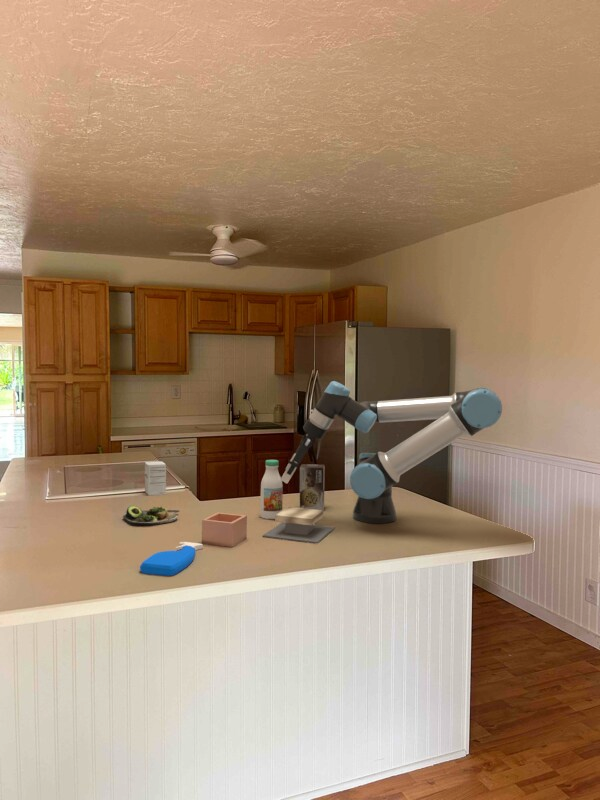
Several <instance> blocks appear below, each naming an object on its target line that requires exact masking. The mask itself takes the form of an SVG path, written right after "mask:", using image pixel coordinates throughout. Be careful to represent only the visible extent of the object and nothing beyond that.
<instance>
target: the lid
mask: <svg viewBox="0 0 600 800" xmlns="http://www.w3.org/2000/svg"><path fill="white" fill-rule="evenodd" d="M324 511H325V510H315V509H306V508H300V507H295V506H294V507H293V506H288V507H286V508H284V509H282V511H281V512H280V513H278V514H276V515H275V519H274V520H275V521H274V522H277V523H278V522H279V523H282V522H285V523H294V524H303V525H313V524H314V525H315V523H317V522H318V521H319V520H321V519H322V518H323V517H324Z"/></svg>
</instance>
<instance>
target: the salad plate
mask: <svg viewBox="0 0 600 800" xmlns="http://www.w3.org/2000/svg"><path fill="white" fill-rule="evenodd" d="M167 508H168V507H167V506H166V507H162V506H160V507H158V506H157V507H156V506H153V507H152V508H149V510H148V509H147V510H142V509H141V508H140V507H138V506H137V505H129V506H128V507H127V508H126V509H127V510H126V511H125V513H124V514H123V515H122V517H123V520H124V521H125V522H126V523H127V525H128V524H129V525H131V526H135V527H151V526H158V525H163V524H168V523H172V522H173V523H174V521H176V520H177V519H179V516H178V515H176V514H177V513H180V510H177V509H167Z"/></svg>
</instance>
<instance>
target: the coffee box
mask: <svg viewBox="0 0 600 800" xmlns="http://www.w3.org/2000/svg"><path fill="white" fill-rule="evenodd" d="M325 469H326V467H325V464H304V463H303V464H302V463H301V465H300V466H299V508H306V509H315V510H324V509H325ZM324 511H325V510H324Z"/></svg>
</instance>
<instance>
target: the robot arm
mask: <svg viewBox="0 0 600 800" xmlns="http://www.w3.org/2000/svg"><path fill="white" fill-rule="evenodd" d="M350 393H351V390H350V388H348V387H346V385H344V384H342V383H340V382H338V381H335V380H333V381H330V383H329V384H328V386H327V387H326V388H325V390H324V391H323V392H322V395H321V397H320V398H319V400H318V402H317V403H316V405H315V406H314V408H313V409H311V410H310V412H311V413H310V415H309V418H308V419H306V421H305V423H304V425H303V426H302V428H303V429H302V430H304V432H305V433H306V434H304V435H303V436H302V438H301V440H300V442H299V445H298V447H297V448H296V450H295V453H293V455H292V457H291V459H290V460H289V461H288V464H287V466H286V467H285V471H284V473H283V474H282V476H280V477H281V479H280V480H281V481H282V483H283V482H284V483H285V484H288V483H289V481H290V480H291V478H292V477H293V475H294V473H295V472H296V471H297V468H298V467H300V466H299V465H300V463H301V462H302V460H303V458H304V457H305V455H306V453H308V451H309V450H310V448H311V447H312V446H313V444H314V442H315V440H314V439H315V438H316V439H317V440H322V439H324V436H325V435H326V433H327V430H328V429H329V428H330V427H331V425H332V423H333V422H334V420H335V418H336V417H338V418H340V419H342V420H343V421H345V422H346V423H348V424H349V425H351V426H352V427H353V428H355V429H356V430H358V431H360V432H362V433H364V434H368V433H369V431H370V430H371V429H372V428H373V426H374V424H378V423H380V424H381V423H394V422H408V421H409V422H410V421H411V422H412V421H428V420H434V421H433V422H431V423H430V424H428V425H427V426H425V427H424V428H422V429H421V430H419V431H417V432H416V433H414V434H412V436H410V437H408V438H407V439H405V440H403V441H402V442H400V443H399V444H397V445H396V446H394V447H392V448H391V449H390V450H388V451H386V452H382V451H378V452H376V453H374V452H361V453H360V454H359V458H358V464H357V465H356V466H355V467H354V468H353V469H352V470H351V472H350V473H351V474H350V476H349V477H350V478H349V483H350V487H351V490H352V491H353V493H354V494H355V495H356V496H357V499H356V502H355V504H354V508H353V510H352V518H353V519H354V520H357V521H359V522H361V523H362V522H364V523H370V524H388V523H391V522H392V523H393V522H395V521H396V520H397V511H396V508H395V503H394V501H393V497H392V495H393V494H392V493H393V492H392V491H393V486H394V485H396V484H398V483H399V482H400V478H401V475H403V474H405V473H406V472H408V471H409V470H410V469H412V468H414V467H416V466H417V465H419V464H421V463H422V462H424V461H426V460H427V459H429V458H430V457H432V456H434V455H435V454H436V453H437V452H440V451H442V450H444V448H446V447H447V446H450V445H451V444H452V443H454V442H455V441H457V440H458V439H460V438H462V437H463V436H467V437H473V436H474V435H475V434H478V433H480V431H482V430H484V429H486V428H487V429H488V428H490V427H492V426H493V425H495V424H496V423H497V422H498V421H499V420H500V418H501V415H502V413H503V405H502V401H501V399H500V397H499V396H498V395H497V394H496V392H494V391H492V390H491V389H488V388H483V387H479V388H478V387H477V388H474V389H470V390H465V391H459V392H453V394H452V395H444V396H442V395H441V396H432V397H430V396H429V397H428V396H427V397H419V398H418V397H417V398H404V399H403V398H402V399H390V400H388V399H387V400H377V401H367V400H366V401H361V402H358V401H356V400H355V399H353V398H352V397H351V396H350Z"/></svg>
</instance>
